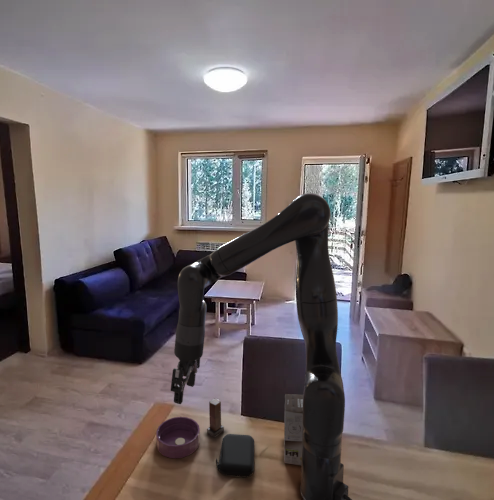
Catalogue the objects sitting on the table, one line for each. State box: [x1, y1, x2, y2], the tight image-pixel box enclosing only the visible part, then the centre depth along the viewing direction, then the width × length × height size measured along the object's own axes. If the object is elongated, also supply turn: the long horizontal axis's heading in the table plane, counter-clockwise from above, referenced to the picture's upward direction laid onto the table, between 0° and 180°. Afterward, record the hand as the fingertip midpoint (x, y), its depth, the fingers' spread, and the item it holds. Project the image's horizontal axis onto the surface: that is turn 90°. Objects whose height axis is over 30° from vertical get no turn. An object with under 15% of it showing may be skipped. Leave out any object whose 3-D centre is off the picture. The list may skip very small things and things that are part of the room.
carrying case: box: [215, 433, 255, 478], centre depth 96 cm, size 11×3×15 cm
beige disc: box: [175, 438, 185, 445], centre depth 102 cm, size 3×3×1 cm
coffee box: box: [283, 393, 303, 466], centre depth 97 cm, size 9×6×16 cm
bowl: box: [155, 416, 201, 459], centre depth 102 cm, size 13×13×4 cm
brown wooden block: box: [206, 398, 225, 438], centre depth 106 cm, size 4×3×11 cm
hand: (184, 393), depth 90 cm, fingers open, 8 cm apart
